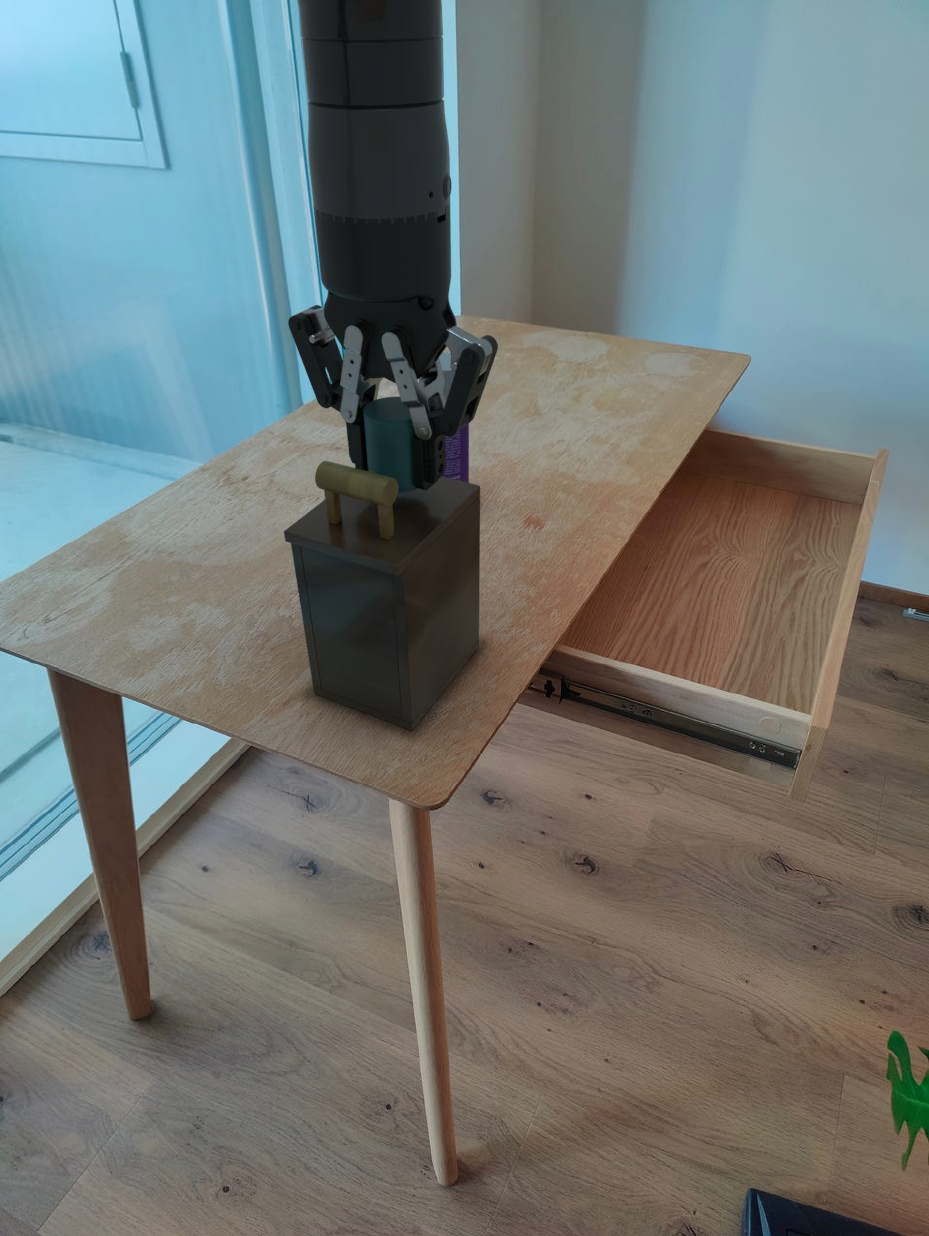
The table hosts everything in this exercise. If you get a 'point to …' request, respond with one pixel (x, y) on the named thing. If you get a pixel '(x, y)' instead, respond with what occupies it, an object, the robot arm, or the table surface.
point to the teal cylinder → (390, 441)
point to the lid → (378, 517)
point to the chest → (392, 624)
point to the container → (460, 441)
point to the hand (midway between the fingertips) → (398, 475)
